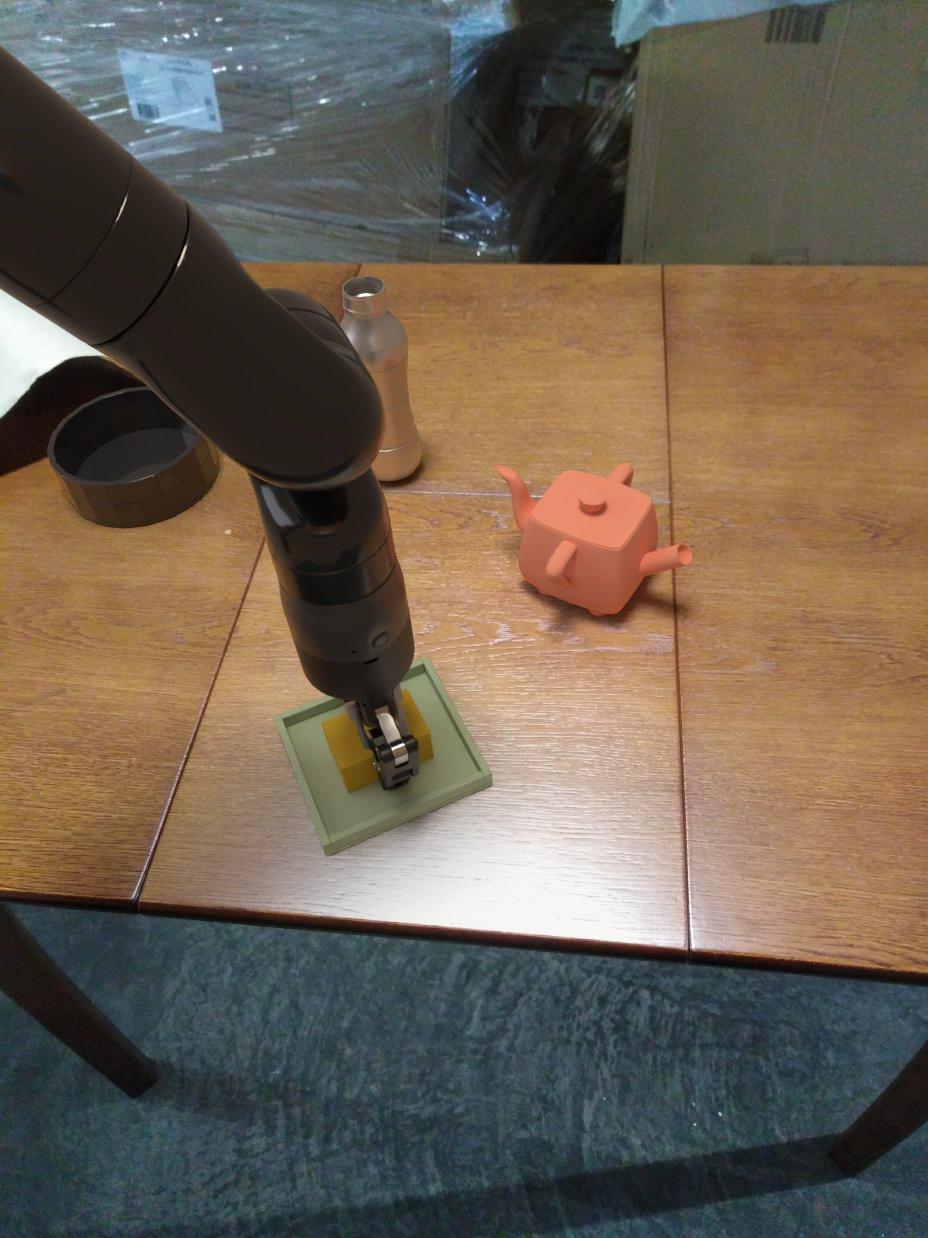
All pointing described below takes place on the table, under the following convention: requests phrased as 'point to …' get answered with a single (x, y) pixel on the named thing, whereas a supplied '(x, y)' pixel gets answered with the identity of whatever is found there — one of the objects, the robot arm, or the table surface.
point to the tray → (371, 806)
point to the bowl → (131, 459)
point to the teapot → (590, 538)
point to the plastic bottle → (384, 371)
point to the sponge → (358, 761)
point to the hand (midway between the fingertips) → (382, 753)
